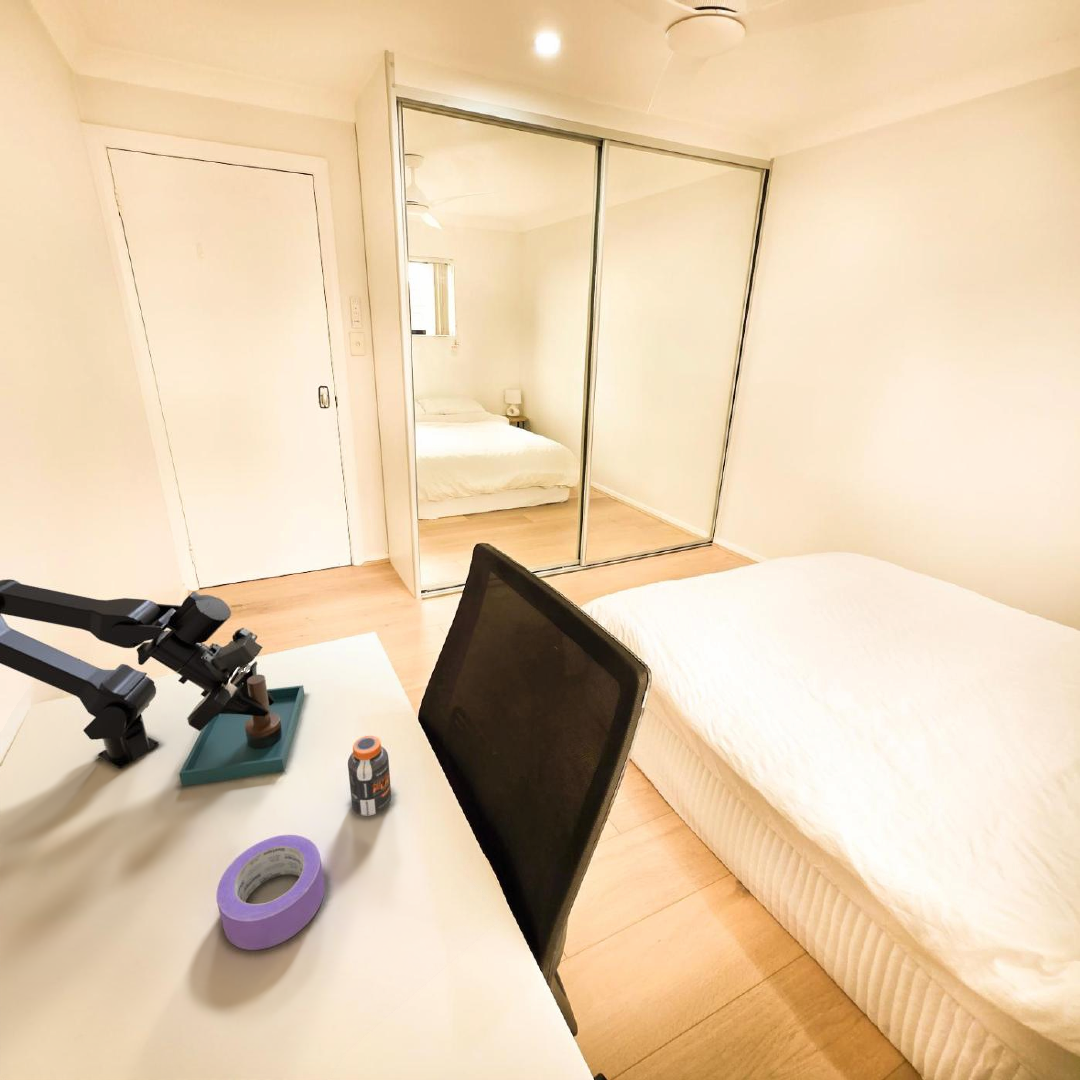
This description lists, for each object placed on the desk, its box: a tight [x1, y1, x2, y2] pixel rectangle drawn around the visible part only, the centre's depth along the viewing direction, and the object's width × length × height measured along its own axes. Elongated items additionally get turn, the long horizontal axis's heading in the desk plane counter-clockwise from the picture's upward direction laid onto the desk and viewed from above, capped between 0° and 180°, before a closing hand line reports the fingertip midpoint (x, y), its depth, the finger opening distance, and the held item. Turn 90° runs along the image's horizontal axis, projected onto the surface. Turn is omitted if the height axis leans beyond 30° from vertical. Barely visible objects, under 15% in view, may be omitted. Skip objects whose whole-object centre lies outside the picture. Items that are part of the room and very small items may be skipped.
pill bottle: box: [347, 735, 392, 817], centre depth 82 cm, size 6×6×11 cm
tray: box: [178, 684, 306, 787], centre depth 96 cm, size 21×15×3 cm
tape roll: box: [216, 834, 326, 951], centre depth 67 cm, size 12×12×5 cm
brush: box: [245, 674, 282, 749], centre depth 93 cm, size 6×6×12 cm
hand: (270, 708), depth 93 cm, fingers closed on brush, 3 cm apart
